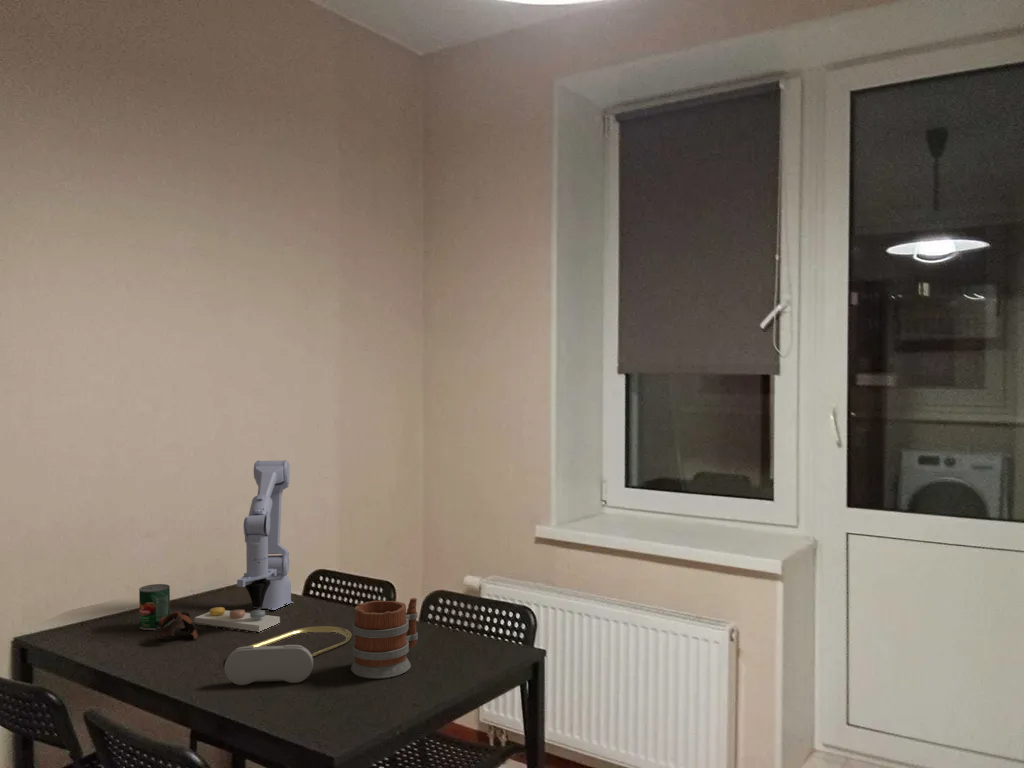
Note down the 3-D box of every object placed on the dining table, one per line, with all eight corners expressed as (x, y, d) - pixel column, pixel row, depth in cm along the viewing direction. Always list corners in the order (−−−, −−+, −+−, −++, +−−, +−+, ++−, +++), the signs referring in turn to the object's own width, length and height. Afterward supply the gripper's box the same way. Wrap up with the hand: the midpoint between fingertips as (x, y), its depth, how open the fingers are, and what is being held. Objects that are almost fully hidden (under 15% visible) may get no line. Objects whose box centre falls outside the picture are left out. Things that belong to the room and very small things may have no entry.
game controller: (313, 679, 194) (313, 642, 194) (312, 682, 192) (312, 646, 192) (226, 682, 192) (226, 646, 192) (224, 686, 190) (224, 649, 190)
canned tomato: (175, 623, 238) (175, 584, 238) (161, 631, 231) (160, 591, 230) (148, 622, 239) (148, 583, 239) (133, 630, 231) (133, 590, 231)
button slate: (256, 613, 237) (256, 609, 237) (268, 614, 235) (268, 610, 235) (247, 617, 233) (247, 612, 233) (259, 618, 232) (258, 614, 232)
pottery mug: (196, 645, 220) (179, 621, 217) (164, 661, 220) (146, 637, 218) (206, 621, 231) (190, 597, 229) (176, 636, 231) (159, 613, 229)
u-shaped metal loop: (211, 665, 204) (211, 658, 204) (314, 628, 234) (314, 622, 234) (265, 679, 195) (265, 672, 195) (366, 638, 225) (366, 632, 225)
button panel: (216, 616, 245) (216, 609, 245) (279, 623, 237) (279, 616, 237) (194, 624, 237) (194, 617, 237) (259, 632, 229) (259, 625, 229)
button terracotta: (236, 613, 239) (236, 608, 239) (247, 614, 238) (247, 610, 238) (226, 616, 236) (226, 612, 236) (238, 618, 234) (238, 614, 234)
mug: (338, 671, 198) (337, 608, 198) (395, 649, 214) (394, 590, 214) (381, 684, 190) (380, 617, 190) (437, 660, 206) (437, 599, 206)
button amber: (216, 610, 242) (216, 606, 242) (227, 612, 241) (227, 607, 241) (206, 614, 238) (206, 610, 238) (218, 615, 237) (217, 611, 237)
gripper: (262, 552, 242) (262, 599, 242) (227, 562, 229) (228, 612, 229) (282, 553, 240) (282, 601, 240) (249, 564, 226) (249, 615, 226)
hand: (257, 607), depth 234 cm, fingers closed
